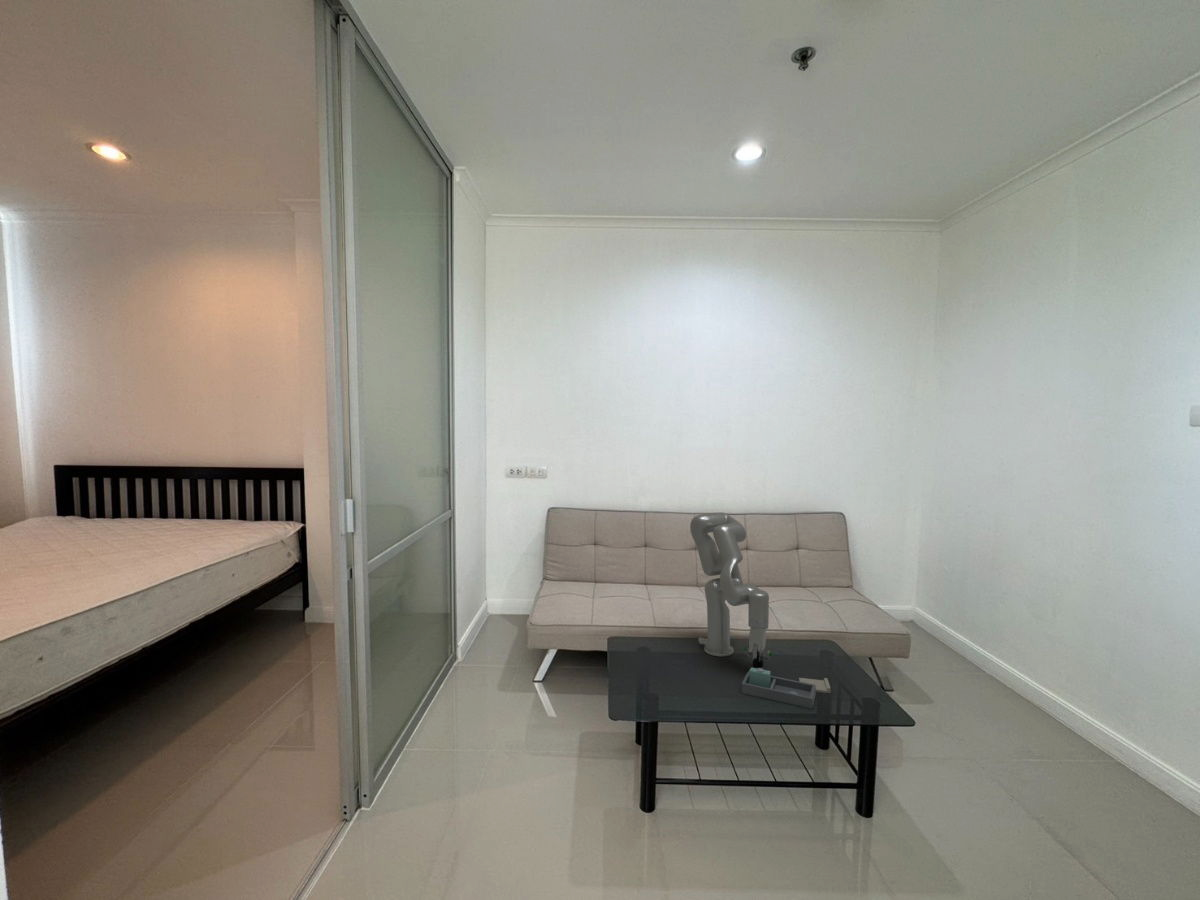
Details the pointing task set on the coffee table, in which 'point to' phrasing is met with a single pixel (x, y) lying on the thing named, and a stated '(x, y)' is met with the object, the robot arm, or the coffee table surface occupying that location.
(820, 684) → the lid plate
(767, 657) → the mechanical component
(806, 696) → the housing
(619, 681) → the coffee table surface
